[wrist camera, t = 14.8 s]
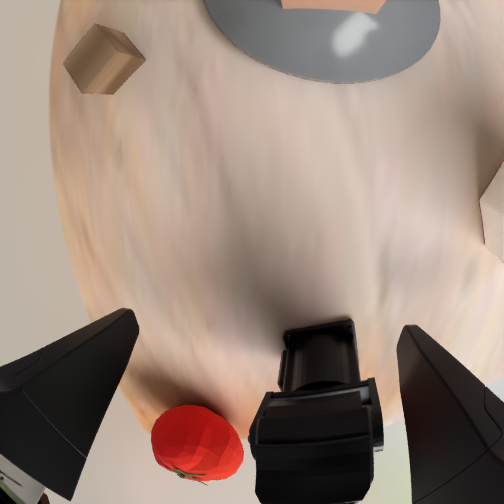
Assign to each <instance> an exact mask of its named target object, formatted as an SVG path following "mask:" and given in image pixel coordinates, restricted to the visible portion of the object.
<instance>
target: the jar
mask: <svg viewBox="0 0 504 504" xmlns="http://www.w3.org/2000/svg"><path fill="white" fill-rule="evenodd" d="M479 202H480V208H481V214H482V221H483V229H484V238H485V247H486V248H487V249H488V250H489V251H490V252H491V253H492V254H493V255H494V256H495V257H496V258H498V259H499V260H500V261H501V262H502V263H503V264H504V162H503V163H502V165H501V167H500V168H499V170H498V172H497V173H496V175H495V177H494V178H493V180H492V181H491V183H490V185H489V186H488V188H487V189H486V191H485V192H484V194H483V195H482V197H481V198H480V200H479Z"/></svg>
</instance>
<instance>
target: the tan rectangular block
mask: <svg viewBox="0 0 504 504" xmlns="http://www.w3.org/2000/svg"><path fill="white" fill-rule="evenodd" d="M385 1H386V0H281V2H282V7H283V9H297V8H305V9H333V10H345V11H355V12H364V13H371V14H377V13H378V11H379V10H380V8H381V7H382V6H383V4H384V3H385Z"/></svg>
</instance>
